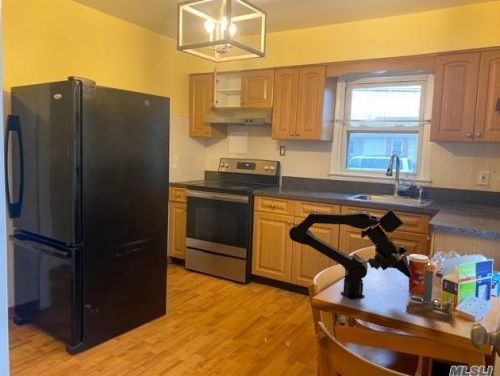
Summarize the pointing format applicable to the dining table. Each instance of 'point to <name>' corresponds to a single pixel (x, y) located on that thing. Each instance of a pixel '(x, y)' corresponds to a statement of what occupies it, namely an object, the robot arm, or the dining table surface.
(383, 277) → the dining table surface
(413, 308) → the press bench
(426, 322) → the dining table surface
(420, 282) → the paper cup
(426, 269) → the press handle
